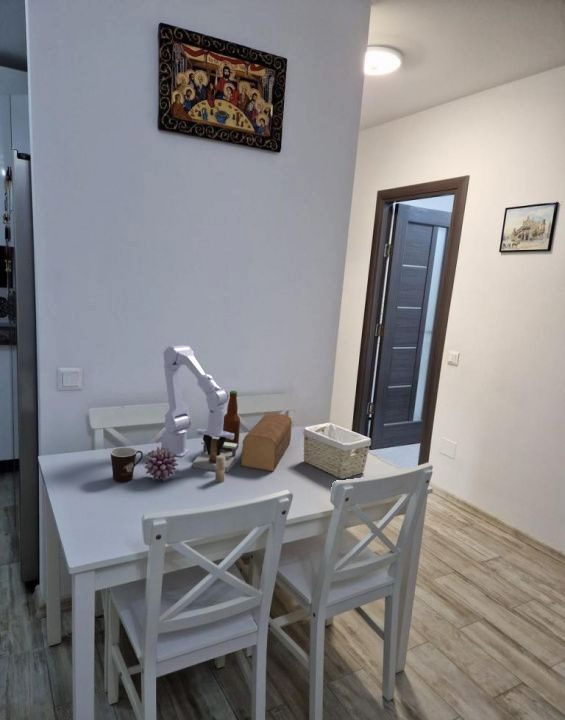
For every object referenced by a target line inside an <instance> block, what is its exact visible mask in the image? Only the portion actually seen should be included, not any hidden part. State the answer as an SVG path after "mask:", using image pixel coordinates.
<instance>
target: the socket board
mask: <svg viewBox="0 0 565 720" xmlns="http://www.w3.org/2000/svg"><path fill="white" fill-rule="evenodd" d="M200 444H201V445H202V446H203V448H202V449H203V450H202V452H200V454H199V455H198V456H197V457H196V458H195V459H194V460H193V461H192V468H195V469H203V470H210V471H215V472H216V463H215V464H214V463H210V462H209V460H210V455H208V453H207V448H206V445H205V443H204V441H203V440H202V441H201V443H200ZM237 446H238V447H239V445H238V444H235V443H228V442H225V443H224V445H223V447H226V448H232V450H231V451H232V452H231V453H223V452H221V454H220V455H222V456H225V457H226V458H225V473H229V472H230V470H231V469H232V467H233V466H234V464H235V463H236V462H237V457H238V455H237V454H236V453H237V449H236V447H237Z"/></svg>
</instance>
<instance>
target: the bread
mask: <svg viewBox="0 0 565 720" xmlns="http://www.w3.org/2000/svg"><path fill="white" fill-rule="evenodd" d="M292 424H293V422H292V417H290V415H286V414H281V413H275V412H274V413H273V412H268V413H265V414H264V415H263V417H261V419H260V420H259V421H258V422H257V423H256V424H255V425H254V426H253V427H252V428H251V430H250V431H249V432H248V433H247V434H246V435H245V436H244V438H243V440H242V447H241V448H242V450H241V455H240V456H241V458H240V462H241V463H240V465H241V466H242V467H243V468H250V469H256V470H262V471H268V472H274V471H275V469H276V468H277V467H278V464H279V462H280V461H281V460H282V458H283V456H284V455H285V453H286V451H287V449H288V448H289V446H290V443H291V440H292V439H291V437H292Z"/></svg>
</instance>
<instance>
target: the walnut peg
mask: <svg viewBox="0 0 565 720" xmlns="http://www.w3.org/2000/svg"><path fill="white" fill-rule="evenodd" d="M218 439H219V438H217V437H212V439H211V442H210V460H209V462H210V463H214V464H215V463H216V458H217V451H218V442H217V440H218Z"/></svg>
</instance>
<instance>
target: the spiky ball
mask: <svg viewBox="0 0 565 720" xmlns="http://www.w3.org/2000/svg"><path fill="white" fill-rule="evenodd" d="M168 449H169V448H167V449H166V450H164V449H163V448H161V447H159V446H157V447H156V450H154V449H152V450H151V452H150V451H148V455H149V456H146V455H145V458H146V459H147V460H143V464H145V466H144V468H145V469H147V471H146V472H145V474H146V475H147V474H149V476H152V480H155V479H158V480H161V479H162V481H166V477H170V476H171V475H172V476H174V475H175V472H174V471H176V470H177V468H176V467H178V466H179V463H176V462H177V459H176V458H175V457H177V456H176V454H172V452H171V453H170V451H168Z"/></svg>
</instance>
